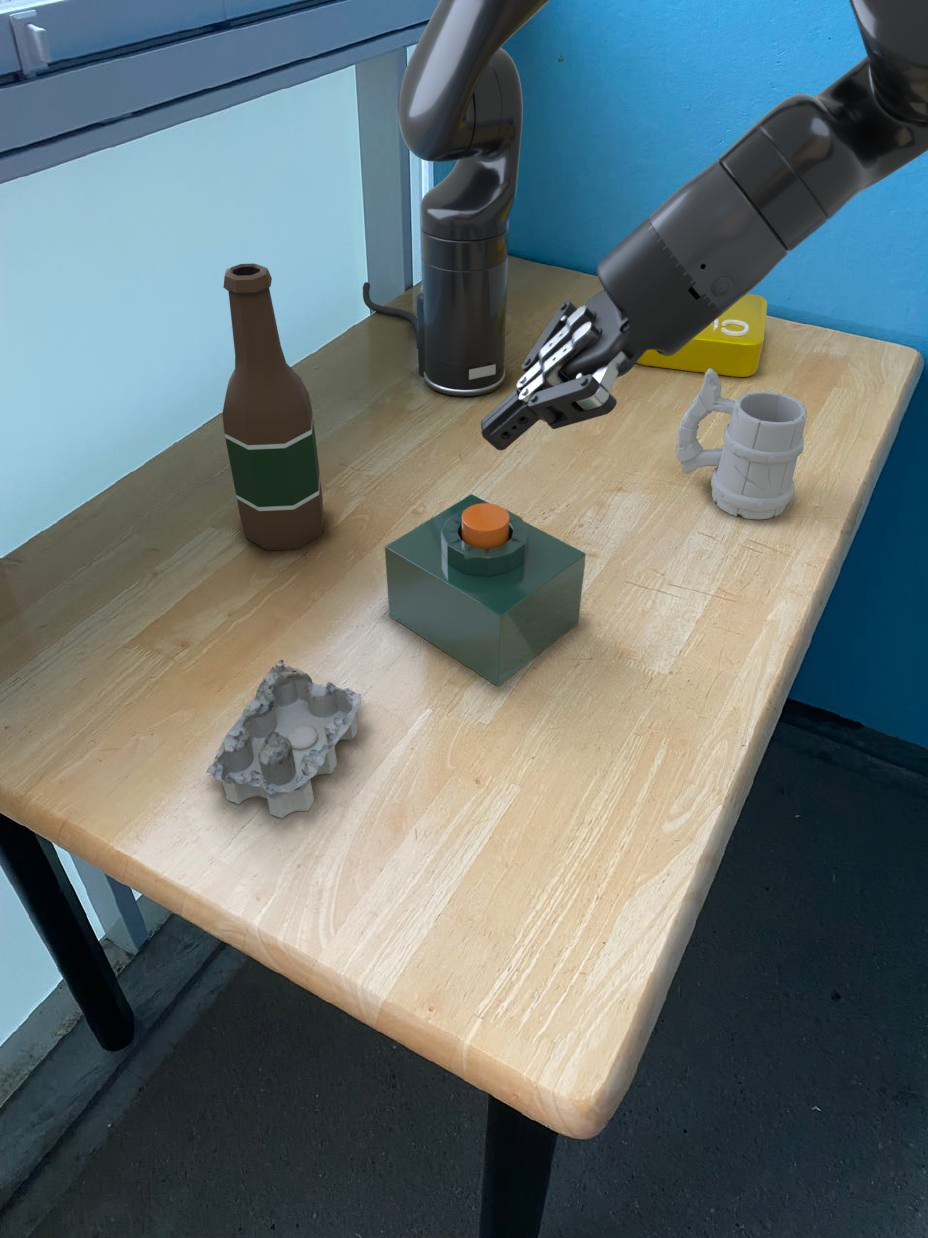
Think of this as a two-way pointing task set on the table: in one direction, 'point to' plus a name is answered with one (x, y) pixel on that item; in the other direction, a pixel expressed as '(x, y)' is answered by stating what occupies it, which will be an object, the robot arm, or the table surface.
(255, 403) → the beer bottle
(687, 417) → the mug
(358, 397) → the table surface
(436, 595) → the green button block
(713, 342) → the element tile
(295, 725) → the egg carton
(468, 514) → the orange button
